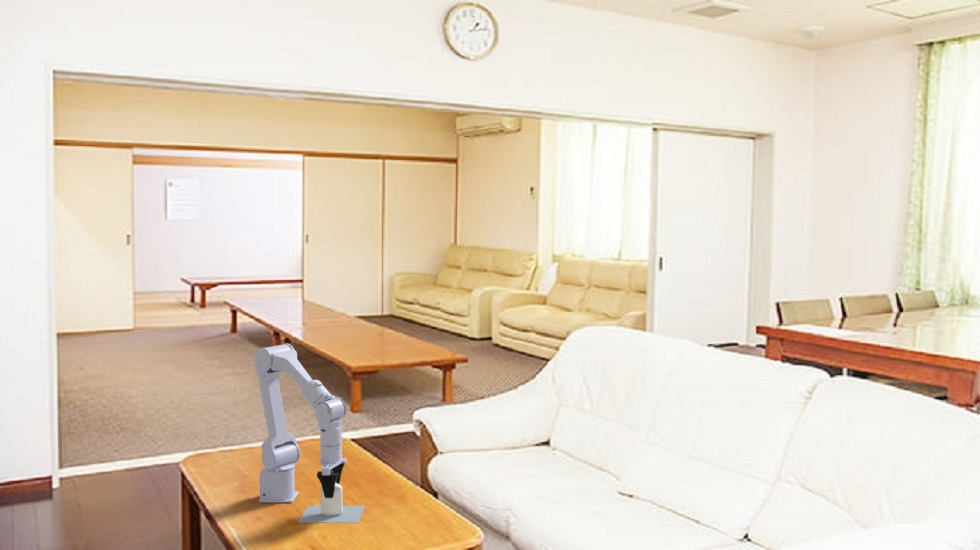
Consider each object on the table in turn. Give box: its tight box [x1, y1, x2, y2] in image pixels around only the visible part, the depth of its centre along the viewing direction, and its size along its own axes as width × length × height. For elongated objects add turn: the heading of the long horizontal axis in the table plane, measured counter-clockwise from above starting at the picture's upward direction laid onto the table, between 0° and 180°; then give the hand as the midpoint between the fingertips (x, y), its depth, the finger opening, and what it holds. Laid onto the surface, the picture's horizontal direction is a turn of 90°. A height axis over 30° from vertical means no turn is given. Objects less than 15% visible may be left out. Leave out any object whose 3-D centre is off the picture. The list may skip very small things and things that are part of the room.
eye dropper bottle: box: [320, 471, 344, 516], centre depth 221 cm, size 4×6×12 cm
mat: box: [297, 505, 366, 524], centre depth 221 cm, size 16×12×1 cm
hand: (332, 492), depth 221 cm, fingers open, 7 cm apart
